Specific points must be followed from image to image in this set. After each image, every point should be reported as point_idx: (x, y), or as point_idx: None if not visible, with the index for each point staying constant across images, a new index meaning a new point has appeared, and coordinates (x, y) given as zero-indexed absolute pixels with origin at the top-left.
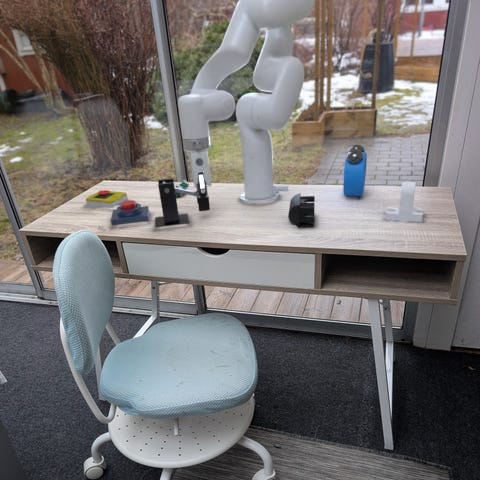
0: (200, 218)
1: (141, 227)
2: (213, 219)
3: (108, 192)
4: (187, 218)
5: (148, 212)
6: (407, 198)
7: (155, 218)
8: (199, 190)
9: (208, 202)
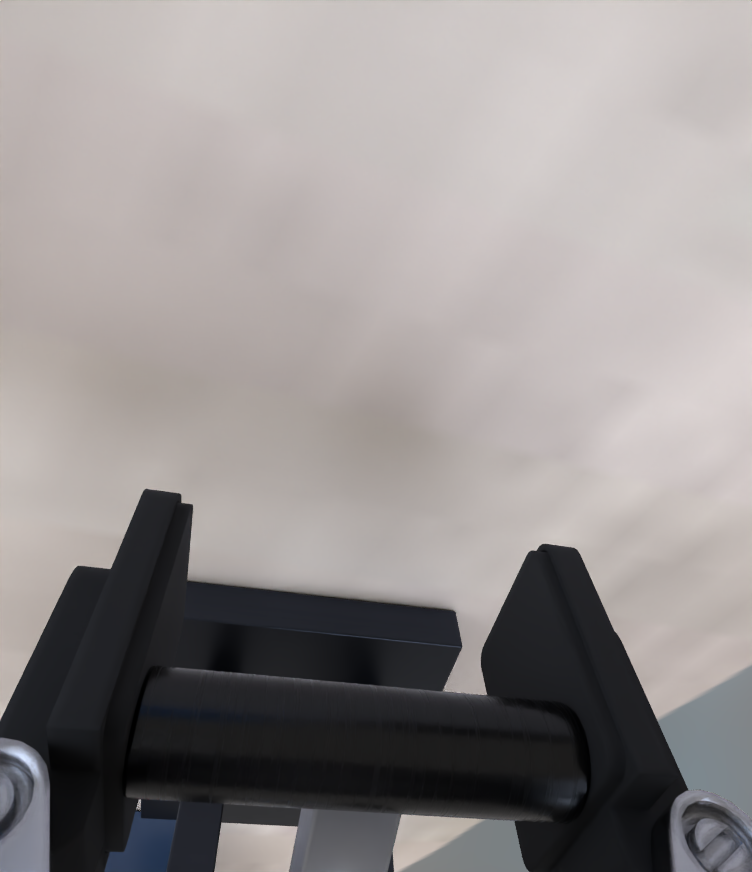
0: (268, 479)
1: (250, 844)
2: (396, 351)
3: None
4: (326, 641)
5: None
6: None
7: (175, 819)
8: (97, 846)
9: (615, 661)
